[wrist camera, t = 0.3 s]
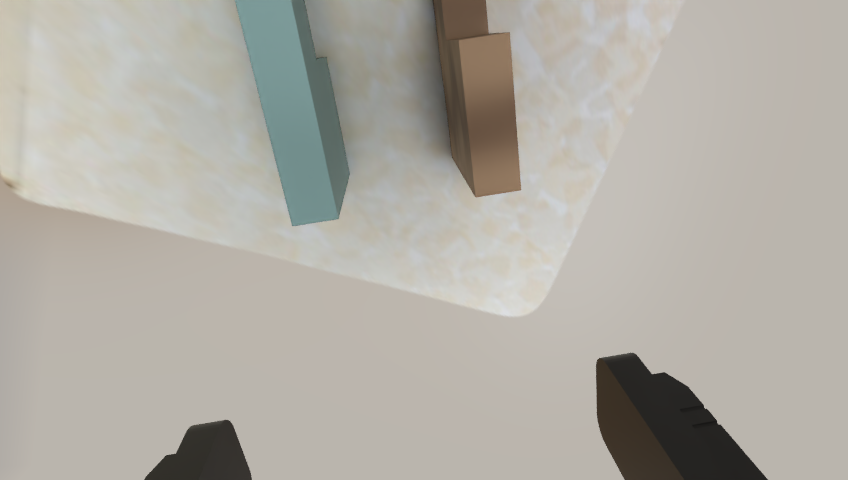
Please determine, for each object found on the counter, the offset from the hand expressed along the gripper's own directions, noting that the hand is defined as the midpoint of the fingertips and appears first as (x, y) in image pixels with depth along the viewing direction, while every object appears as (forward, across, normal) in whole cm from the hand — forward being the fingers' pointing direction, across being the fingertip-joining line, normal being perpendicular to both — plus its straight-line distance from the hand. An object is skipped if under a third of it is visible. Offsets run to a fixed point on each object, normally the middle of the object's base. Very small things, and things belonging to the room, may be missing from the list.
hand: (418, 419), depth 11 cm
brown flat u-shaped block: (+28, -5, -9) cm, 29 cm away
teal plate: (+28, +5, -9) cm, 29 cm away
